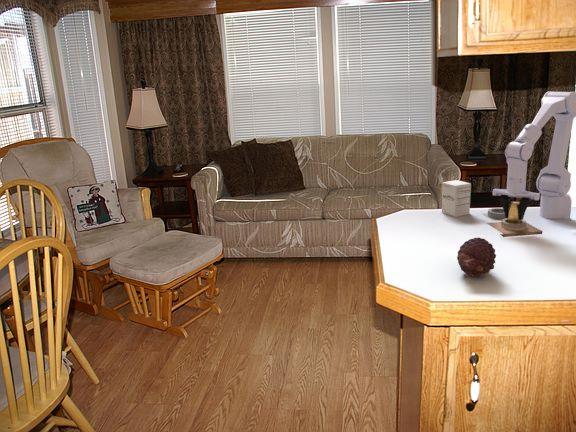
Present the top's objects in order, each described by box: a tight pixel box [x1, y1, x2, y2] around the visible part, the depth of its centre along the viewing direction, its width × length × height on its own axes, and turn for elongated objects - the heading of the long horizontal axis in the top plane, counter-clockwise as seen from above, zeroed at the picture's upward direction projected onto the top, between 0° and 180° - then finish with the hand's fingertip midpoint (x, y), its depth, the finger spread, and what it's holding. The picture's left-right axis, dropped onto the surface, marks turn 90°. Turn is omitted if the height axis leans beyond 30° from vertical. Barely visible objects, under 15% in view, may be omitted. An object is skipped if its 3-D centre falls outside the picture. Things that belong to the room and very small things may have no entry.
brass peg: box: [507, 201, 521, 224], centre depth 184 cm, size 4×4×8 cm
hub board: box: [486, 218, 543, 238], centre depth 185 cm, size 13×13×3 cm
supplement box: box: [441, 179, 472, 217], centre depth 203 cm, size 7×7×13 cm
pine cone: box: [456, 237, 497, 278], centre depth 149 cm, size 18×10×10 cm, turn 160°
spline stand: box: [482, 207, 506, 222], centre depth 198 cm, size 9×9×3 cm
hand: (514, 218), depth 184 cm, fingers closed on brass peg, 4 cm apart
